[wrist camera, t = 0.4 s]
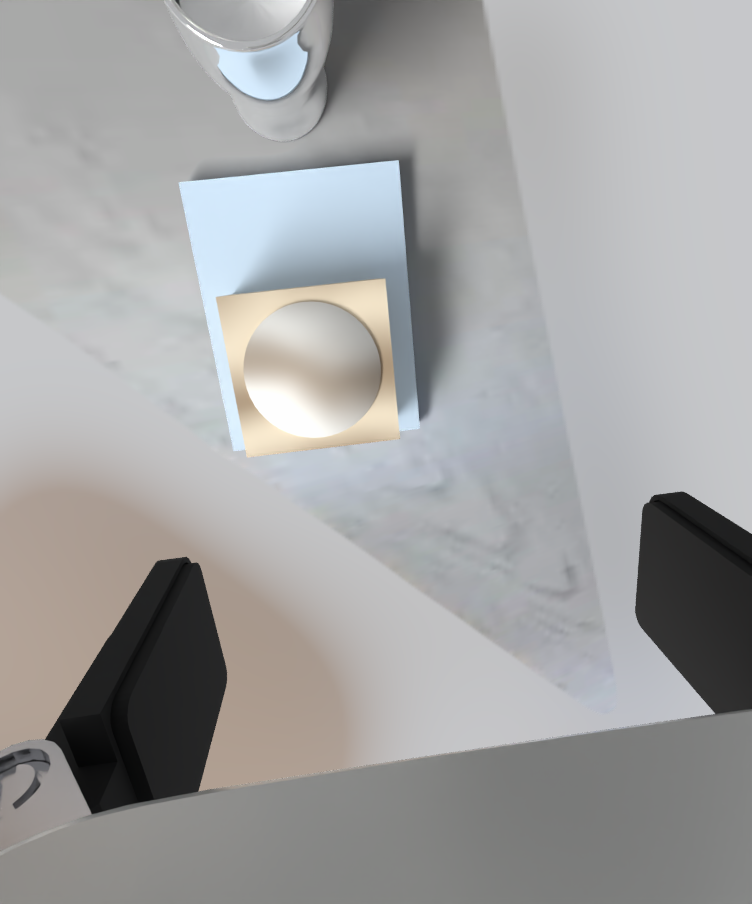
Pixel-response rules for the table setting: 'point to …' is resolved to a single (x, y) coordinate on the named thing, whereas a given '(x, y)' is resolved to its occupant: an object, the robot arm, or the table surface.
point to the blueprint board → (303, 251)
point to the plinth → (311, 366)
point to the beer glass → (262, 57)
